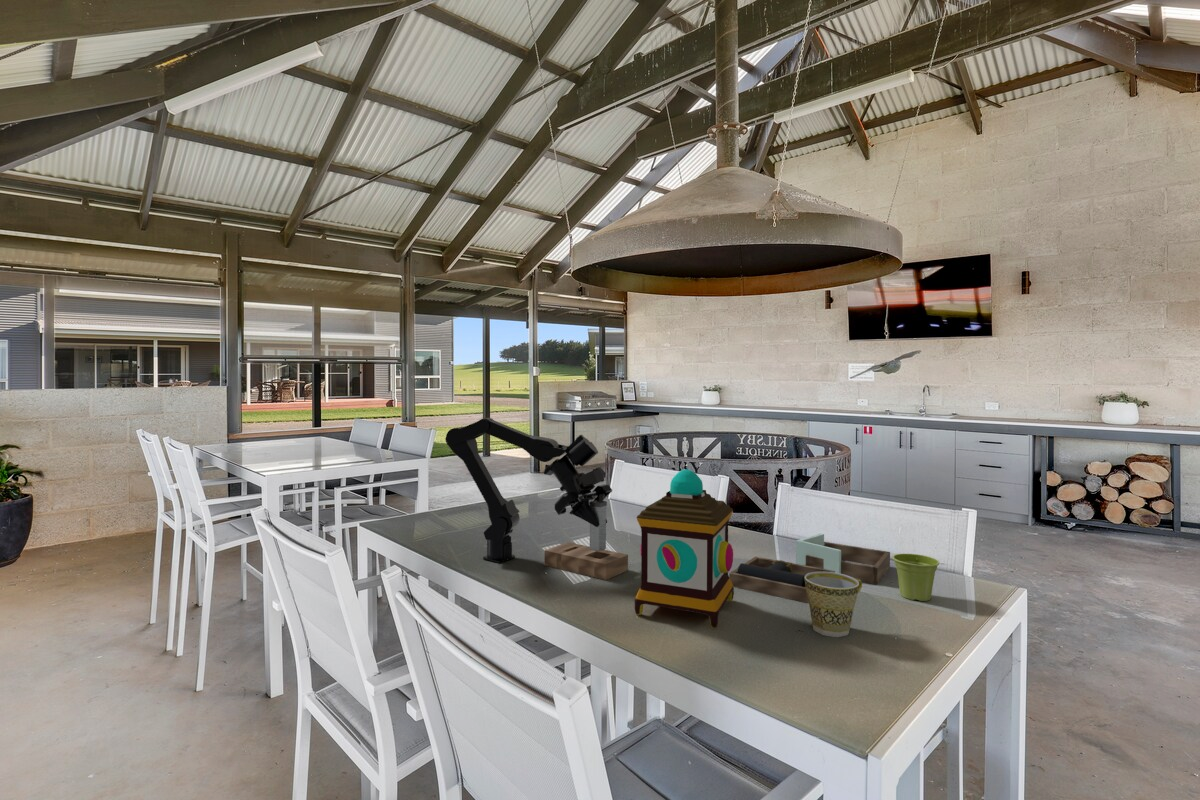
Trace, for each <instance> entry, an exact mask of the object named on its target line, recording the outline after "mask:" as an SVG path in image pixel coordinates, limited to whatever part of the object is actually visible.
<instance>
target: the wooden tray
mask: <svg viewBox="0 0 1200 800" xmlns="http://www.w3.org/2000/svg"><path fill="white" fill-rule="evenodd" d="M775 560H776V559H771V558H765V557H761V556H753V557H752V558H751V559H750V560H748V561H746V562H745V563H744V564H748V565H754V566H759V567H764V568H769V567H770V566H771V563H773V562H774V561H775ZM791 563H792V571H793V573H795V574H801V575H806V574H808V573H811V572H834V573H835V571H833V570H827V569H822V568H816V567H811V566H805V565H800V564H796V563H793V562H791ZM738 568H739V566H738V567H737V568H735V569H734V570H732V571H731V572H728V575H729V578H730V580H731V582H732V584H733V587H734V588H738V589H742V590H743V589H744V590H747V591H752V592H755V593H761V594H765V595H771V596H774V597H779V598H784V599H789V600H793V601H798V602H802V603H806V604H809V600H808V597H807V593H806V587H801V586H796V585H791V584H787V583H782V582H777V581H772V580H767V579H762V578H757V577H752V576H747V575H742V574H737V571H738Z"/></svg>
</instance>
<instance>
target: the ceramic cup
mask: <svg viewBox="0 0 1200 800" xmlns="http://www.w3.org/2000/svg"><path fill="white" fill-rule="evenodd" d="M804 579H805V587H806V593H807V597H808V600H809V603H808V604H809V611H810V615H811V624H812V628H813V631H814V632H816V633H818V634H820V635H822V636H826V637H832V638H833V637H834V638H841V637H845V636H848V635H849V634H850V628H851V624H852V619H853V615H854V610H855V609H854V608H855V606H856V602H857V598H858V595H859V594H860V592H861V590H862V587H863V582H861V580H860V579H858V578H852V577H850V576H847V575H844V574H840V573H834V572H811V573H808V574H806V575H805V576H804Z"/></svg>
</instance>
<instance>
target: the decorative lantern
mask: <svg viewBox="0 0 1200 800" xmlns="http://www.w3.org/2000/svg"><path fill="white" fill-rule="evenodd" d="M703 487H704V485H703V480H702V478H700V477H699V475H698V474H697V473H696V472H694V471H693V470H691V469H687V468H686V469H685V468H684V469H682V470H680V471H678V472H677V473H676V474H675V475H674V476H673V477H672V479H671V480H670V487H669V491H667V492H666V493H665V494H666V495H664V496H662V497H661V498H660V499H658V500H656V501H654V502H653V503H651V504H649V505H648V506H646V507H645V509H643V510H642V511H640V513H639V514H637V516H636V521H637V522H638V526H639V528H640V529H641V531H640V533H641V540H640V541H641V544H640V557H641V563H640V564H641V565H640V567H641V574H640V579H641V582H640V587H639V589H638V592H637V594H636V596H635V598H634V612H635V615H637V616H641V615H642V614H643V610H644V605H649V606H655V607H662V608H667V609H673V610H679V611H680V610H681V611H685V612H690V613H691V612H692V613H698V614H704V615H706V616H707V617H708V618H709V622H710V623H709V625H710V627H711V628H712V629H716V628H717V626H718V623H719V622H718V621H719V614H720V611H721V609H723V607H724V605H725V604H726V602H732V601H733V599H734V594H735V593H734V592H735V589H734V588H735V587H733V584H732V582H731V580H730V578H729V573H730V571H731V569H732V567H733V562H734V549H733V546H732V544H731V543H729V521H730V519H731V517H732V515H733V512H734V510H733V508H732V507H731V506H730V505H729V504H726V502H725V501H724V500H720V499H719V500H718V499H717V500H716V498H715V497H712V496H711V494H709V493H707V490H706V489H704V488H703Z"/></svg>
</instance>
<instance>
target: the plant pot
mask: <svg viewBox="0 0 1200 800" xmlns="http://www.w3.org/2000/svg"><path fill="white" fill-rule="evenodd" d="M892 559H893V561H894V566H895V567H896V572H897V573H896V574H897V580H898V586H899V587H898V589H899V593H900V595H901V597H903V598H905V599H907V600H911V601H914V600H918V601H920V602H926V601H930V600H932V599H931V598H932V592H933V587H934V582H935V581H934V580H935V575H936V571H937V570H938V566H939V565H940V561H939V560H938V559H937V558H934V557H931V556H927V555H923V554H918V553H917V554H916V553H896V554H893V555H892Z"/></svg>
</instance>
